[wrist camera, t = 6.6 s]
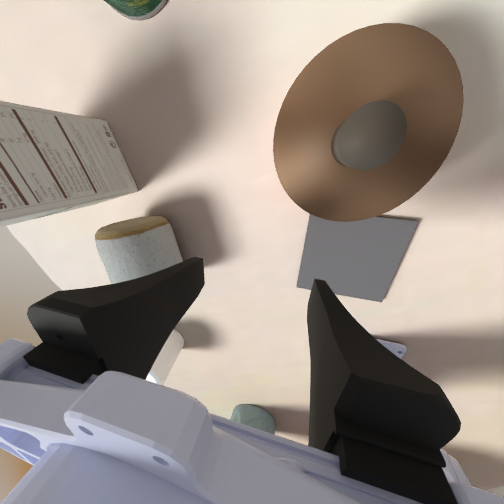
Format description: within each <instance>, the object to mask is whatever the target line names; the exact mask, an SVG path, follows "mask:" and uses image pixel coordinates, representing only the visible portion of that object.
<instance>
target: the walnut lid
mask: <svg viewBox="0 0 504 504" xmlns="http://www.w3.org/2000/svg"><path fill="white" fill-rule="evenodd" d="M462 108H463V86H462V81H461V76H460V72H459V69H458V67H457V64H456V62H455V60H454V58H453V56H452V55H451V53H450V52H449V50H448V49H447V48H446V47H445V46H444V45H443V43H442V42H441V41H440V40H439V39H437V38H436V37H434V36H433V35H431V34H430V33H428V32H427V31H425V30H422V29H420V28H417V27H415V26H411V25H405V24H400V23H384V24H378V25H372V26H368V27H365V28H362V29H358V30H355V31H353V32H351V33H349V34H347V35H345V36H343V37H341V38H339V39H338V40H336V41H335V42H333V43H332V44H330V45H328V46H327V47H326V48H325V49H324V50H322V51H321V52H320V53H319V54H318V55H316V56H315V57H314V58H313V59H312V60H311V61H310V62H309V64H308V65H307V66H306V67H305V68H304V69H303V70H302V72H301V73H300V74H299V76H298V77H297V78H296V80H295V81H294V83H293V85H292V86H291V88H290V89H289V91H288V93H287V95H286V97H285V99H284V101H283V104H282V106H281V109H280V112H279V115H278V118H277V122H276V126H275V133H274V145H273V152H274V162H275V167H276V171H277V174H278V177H279V180H280V182H281V184H282V186H283V188H284V190H285V191H286V192H287V194H288V195H289V197H290V198H291V199H292V200H293V201H294V202H295V203H296V204H297V205H298V206H299V207H301V208H302V209H303V210H305V211H306V212H308V213H310V214H312V215H314V216H316V217H319V218H322V219H325V220H330V221H337V222H351V221H360V220H365V219H369V218H372V217H376V216H378V215H381V214H383V213H386V212H388V211H390V210H392V209H394V208H395V207H397V206H399V205H401V204H402V203H404V202H405V201H407V200H408V199H409V198H411V197H412V196H413V195H414V194H416V193H417V192H418V191H419V190H420V189H421V188H422V187H423V186H424V185H425V184H426V183H427V182H428V181H429V180H430V179H431V178H432V176H433V175H434V174H435V173H436V172H437V170H438V169H439V167H440V166H441V164H442V163H443V161H444V160H445V158H446V157H447V155H448V153H449V151H450V149H451V147H452V145H453V143H454V140H455V137H456V135H457V132H458V129H459V125H460V121H461V117H462Z"/></svg>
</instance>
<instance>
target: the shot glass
mask: <svg viewBox="0 0 504 504" xmlns="http://www.w3.org/2000/svg"><path fill="white" fill-rule="evenodd" d="M183 345H184V339H183V338H182V336H181V335H180V334H179V333H178V332H177V331H176V330H174V329H173V331H172V332H171V334H170V336H169V337H168V339H167V341H166V342H165V344H164V346H163V348H162V349H161V351H160V353H159V355H158V357H157V358H156V360H155V362H154V364H153V366H152V368H151V370H150V372H149V374H148V376H147V378H146V380H147V381H150V382H153V383H156V384H159V385H163V384H164V382H165V380H166V378H167V376H168V374H169V372H170V370H171V368H172V366H173V364H174V362H175V360H176V358H177V357H178V355H179V353H180V351H181V349H182V347H183Z"/></svg>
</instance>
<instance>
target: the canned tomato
mask: <svg viewBox="0 0 504 504" xmlns="http://www.w3.org/2000/svg"><path fill="white" fill-rule="evenodd" d="M104 1H106V2H107V3H108V4H109V5H110V6H111V7H112V8H113V9H114V10H116V11H117V12H118V13H120V14H121V15H123V16H125V17H127V18H130V19H132V20H144V19H149V18H151V17H152V16H154V15H155V14H157V13H158V12H159V11H160V10H161V9H162V8H163V7H164V5H165V4H166V2H167V0H104Z"/></svg>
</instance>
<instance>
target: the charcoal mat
mask: <svg viewBox="0 0 504 504" xmlns="http://www.w3.org/2000/svg"><path fill="white" fill-rule="evenodd" d="M417 224H418V221H417V220H409V219H399V218H389V217H379V216H376V217H372V218H369V219H365V220H360V221H351V222H337V221H330V220H325V219H322V218H319V217H316V216H314V215H312V214H310V216H309V222H308V227H307V233H306V238H305V243H304V249H303V254H302V260H301V265H300V270H299V276H298V281H297V287H298V288H304V289H309V290H312V286H313V282H314V278H315V279H320V280H325V281H326V282H327V284H328V285H329V287H330V288H331V290H332V291H333V293H334V294H338V295H343V296H349V297H355V298H360V299H366V300H372V301H377V302H382V301H383V299H384V296H385V294H386V292H387V290H388V288H389V285H390V283H391V281H392V279H393V277H394V274H395V272H396V270H397V268H398V266H399V264H400V261H401V259H402V257H403V255H404V253H405V250H406V248H407V246H408V244H409V242H410V239H411V237H412V235H413V233H414V231H415V228H416V226H417Z"/></svg>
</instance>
